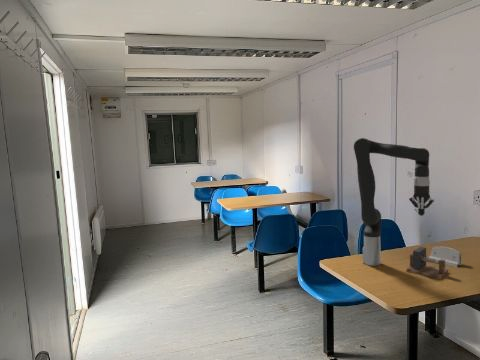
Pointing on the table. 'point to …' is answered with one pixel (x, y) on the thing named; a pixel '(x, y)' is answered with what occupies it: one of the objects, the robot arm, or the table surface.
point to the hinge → (446, 255)
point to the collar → (419, 258)
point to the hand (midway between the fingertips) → (421, 215)
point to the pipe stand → (429, 268)
